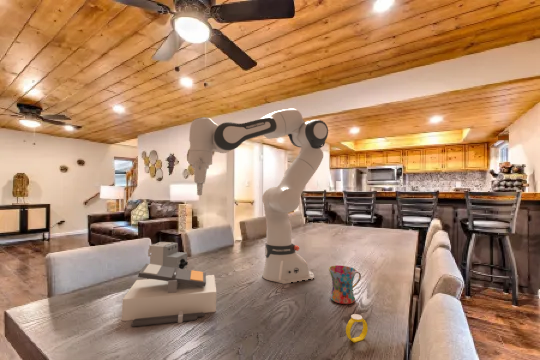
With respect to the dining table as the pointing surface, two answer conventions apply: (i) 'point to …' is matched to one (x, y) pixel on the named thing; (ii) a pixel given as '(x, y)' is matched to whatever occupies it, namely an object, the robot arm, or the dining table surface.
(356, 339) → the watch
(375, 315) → the dining table surface
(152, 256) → the circuit breaker
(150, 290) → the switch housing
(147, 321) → the dark grey piece
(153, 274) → the block
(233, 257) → the dining table surface
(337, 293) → the mug
